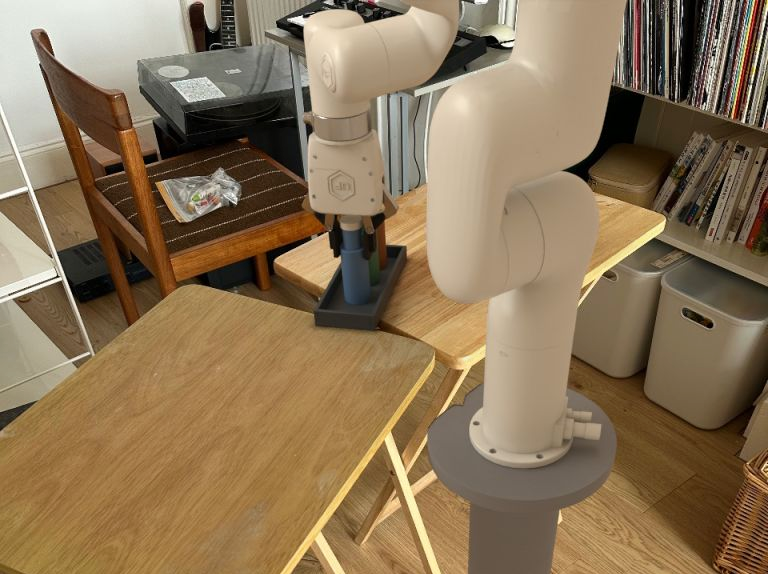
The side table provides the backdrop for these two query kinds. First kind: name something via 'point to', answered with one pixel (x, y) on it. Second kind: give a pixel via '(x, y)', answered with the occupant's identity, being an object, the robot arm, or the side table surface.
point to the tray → (362, 316)
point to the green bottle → (373, 264)
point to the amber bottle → (382, 246)
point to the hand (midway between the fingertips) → (354, 253)
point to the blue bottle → (354, 262)
